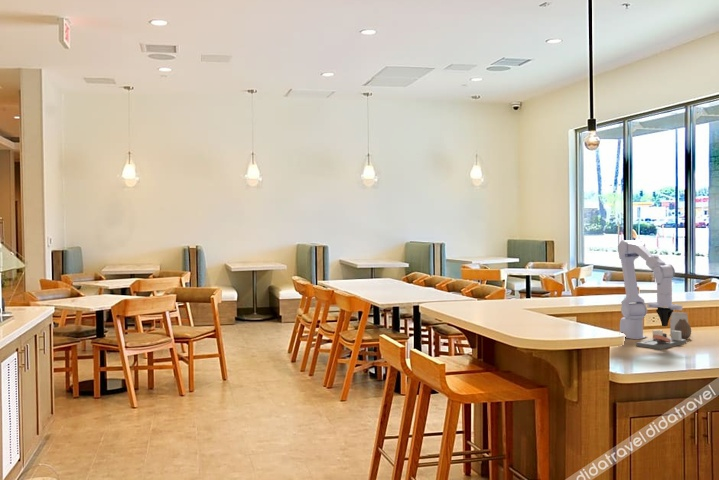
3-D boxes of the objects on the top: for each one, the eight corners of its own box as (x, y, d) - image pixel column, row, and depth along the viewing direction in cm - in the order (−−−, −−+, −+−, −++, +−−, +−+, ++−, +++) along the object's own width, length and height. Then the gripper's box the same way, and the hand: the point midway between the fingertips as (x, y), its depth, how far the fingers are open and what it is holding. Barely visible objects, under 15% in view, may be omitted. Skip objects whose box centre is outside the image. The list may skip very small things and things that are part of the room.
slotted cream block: (652, 338, 304) (652, 330, 304) (655, 338, 305) (655, 329, 305) (659, 339, 301) (659, 330, 301) (662, 339, 303) (662, 330, 303)
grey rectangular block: (685, 335, 320) (685, 313, 320) (670, 334, 324) (670, 312, 324) (688, 334, 323) (688, 312, 322) (673, 332, 327) (672, 311, 327)
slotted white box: (671, 339, 301) (671, 330, 301) (674, 339, 302) (674, 330, 302) (678, 340, 298) (678, 331, 298) (681, 339, 300) (681, 330, 300)
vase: (688, 337, 315) (687, 317, 315) (693, 339, 308) (693, 320, 308) (671, 337, 316) (671, 317, 315) (677, 340, 309) (677, 320, 309)
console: (636, 346, 298) (636, 340, 298) (662, 339, 310) (662, 334, 310) (660, 349, 289) (660, 343, 289) (686, 343, 301) (686, 337, 301)
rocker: (652, 337, 294) (653, 334, 294) (661, 341, 298) (661, 338, 298) (661, 339, 291) (662, 335, 291) (670, 342, 295) (670, 339, 295)
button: (656, 337, 308) (656, 333, 308) (660, 336, 310) (660, 332, 310) (663, 338, 305) (663, 334, 305) (668, 337, 307) (668, 333, 307)
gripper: (643, 293, 299) (643, 325, 299) (675, 296, 287) (676, 329, 288) (652, 291, 303) (652, 323, 303) (685, 294, 291) (685, 327, 292)
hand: (664, 326), depth 296 cm, fingers closed
